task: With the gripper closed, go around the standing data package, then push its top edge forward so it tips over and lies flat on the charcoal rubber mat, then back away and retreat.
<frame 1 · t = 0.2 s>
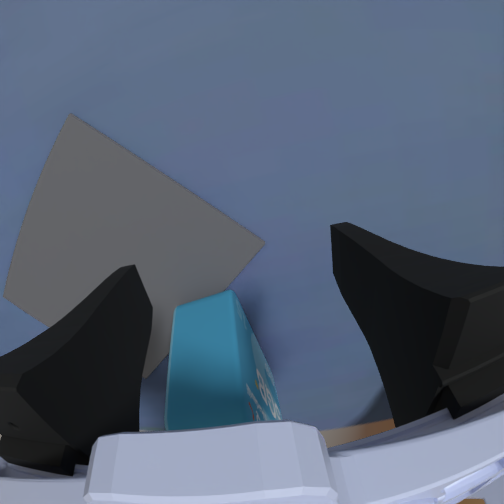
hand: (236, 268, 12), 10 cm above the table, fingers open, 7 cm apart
data package: (229, 339, 27), on the table, touching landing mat
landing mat: (107, 273, 23), on the table
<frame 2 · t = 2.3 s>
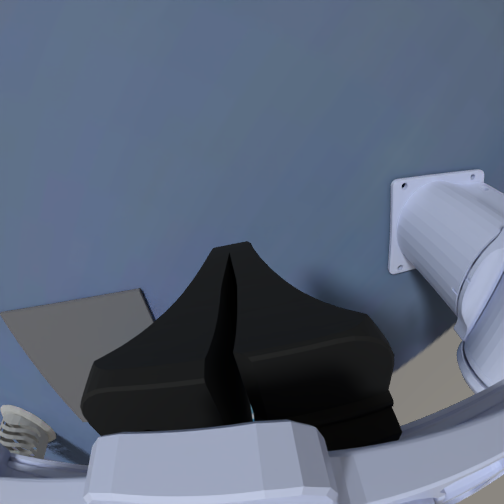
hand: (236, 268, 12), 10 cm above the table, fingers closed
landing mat: (101, 372, 28), on the table
french press: (23, 421, 34), on the table
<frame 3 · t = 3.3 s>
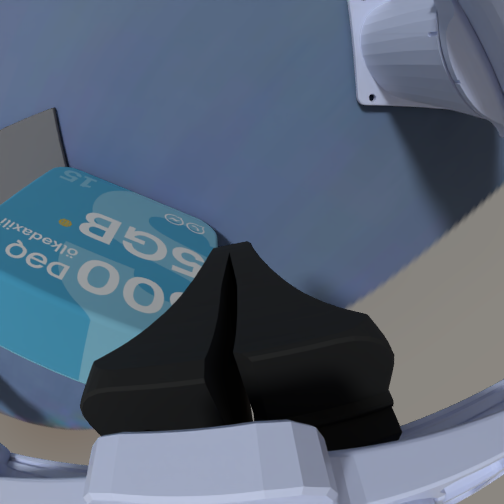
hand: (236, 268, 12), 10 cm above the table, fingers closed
data package: (127, 219, 21), on the table, touching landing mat
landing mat: (9, 242, 21), on the table
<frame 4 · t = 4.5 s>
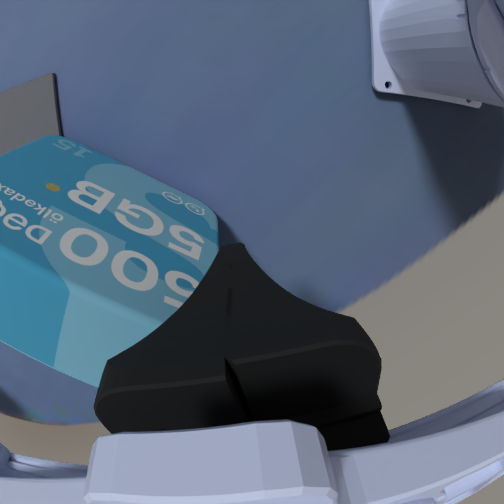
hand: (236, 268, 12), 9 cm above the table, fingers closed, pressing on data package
data package: (121, 197, 19), on the table, touching gripper, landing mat
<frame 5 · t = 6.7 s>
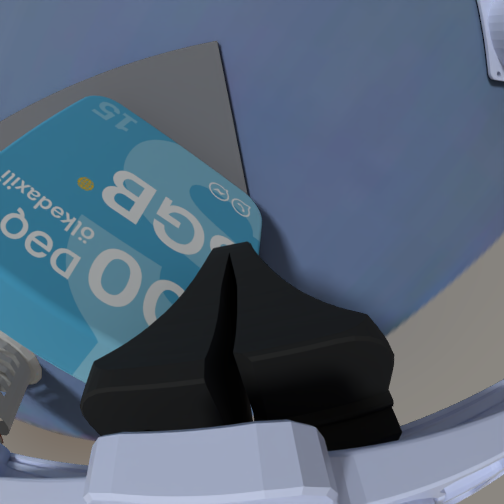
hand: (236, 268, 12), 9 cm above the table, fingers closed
data package: (163, 171, 18), point 1 cm above the table, touching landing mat
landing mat: (124, 211, 20), on the table
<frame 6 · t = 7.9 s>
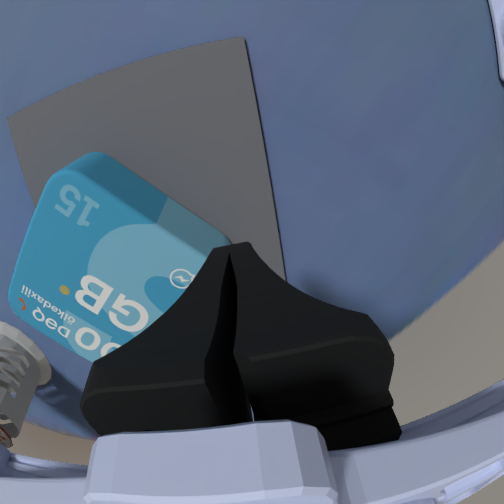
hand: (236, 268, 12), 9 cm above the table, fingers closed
data package: (162, 203, 17), point 3 cm above the table, touching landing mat
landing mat: (145, 206, 20), on the table
french press: (7, 351, 26), on the table
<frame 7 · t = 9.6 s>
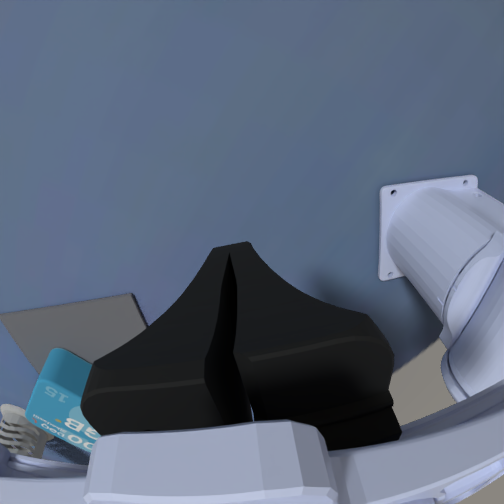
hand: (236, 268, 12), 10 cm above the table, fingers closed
data package: (103, 387, 26), point 3 cm above the table, touching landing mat
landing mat: (97, 373, 29), on the table
french press: (22, 420, 34), on the table
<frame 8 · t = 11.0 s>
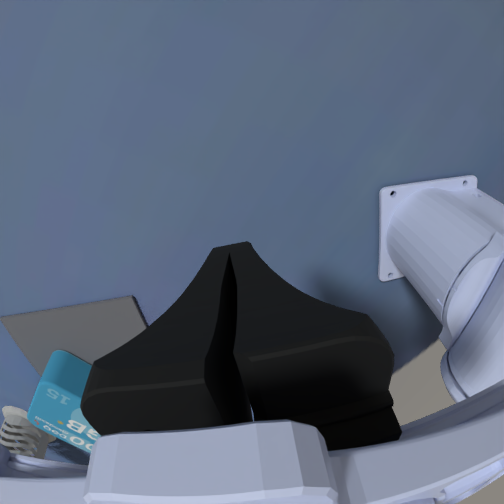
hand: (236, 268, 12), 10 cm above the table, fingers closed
data package: (104, 389, 26), point 3 cm above the table, touching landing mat
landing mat: (98, 375, 29), on the table
french press: (24, 422, 35), on the table
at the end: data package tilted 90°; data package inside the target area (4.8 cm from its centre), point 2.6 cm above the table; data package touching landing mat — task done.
